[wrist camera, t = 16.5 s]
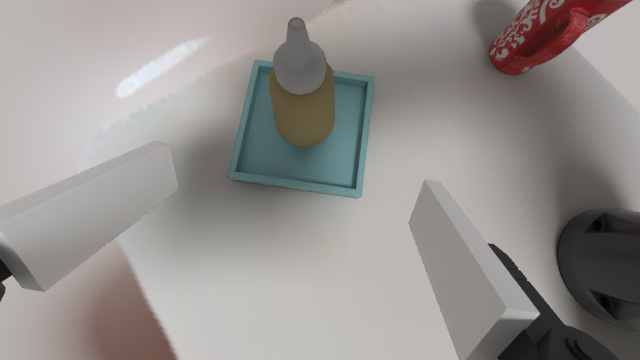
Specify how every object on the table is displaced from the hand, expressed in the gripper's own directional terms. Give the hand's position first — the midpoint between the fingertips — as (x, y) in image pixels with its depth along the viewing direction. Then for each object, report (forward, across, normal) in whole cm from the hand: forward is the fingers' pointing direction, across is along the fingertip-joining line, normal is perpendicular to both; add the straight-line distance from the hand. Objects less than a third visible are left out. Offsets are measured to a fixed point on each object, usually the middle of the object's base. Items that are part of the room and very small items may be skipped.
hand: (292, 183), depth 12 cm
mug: (+36, +28, +8) cm, 46 cm away
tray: (+23, -3, -4) cm, 24 cm away
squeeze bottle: (+23, -3, -4) cm, 23 cm away
